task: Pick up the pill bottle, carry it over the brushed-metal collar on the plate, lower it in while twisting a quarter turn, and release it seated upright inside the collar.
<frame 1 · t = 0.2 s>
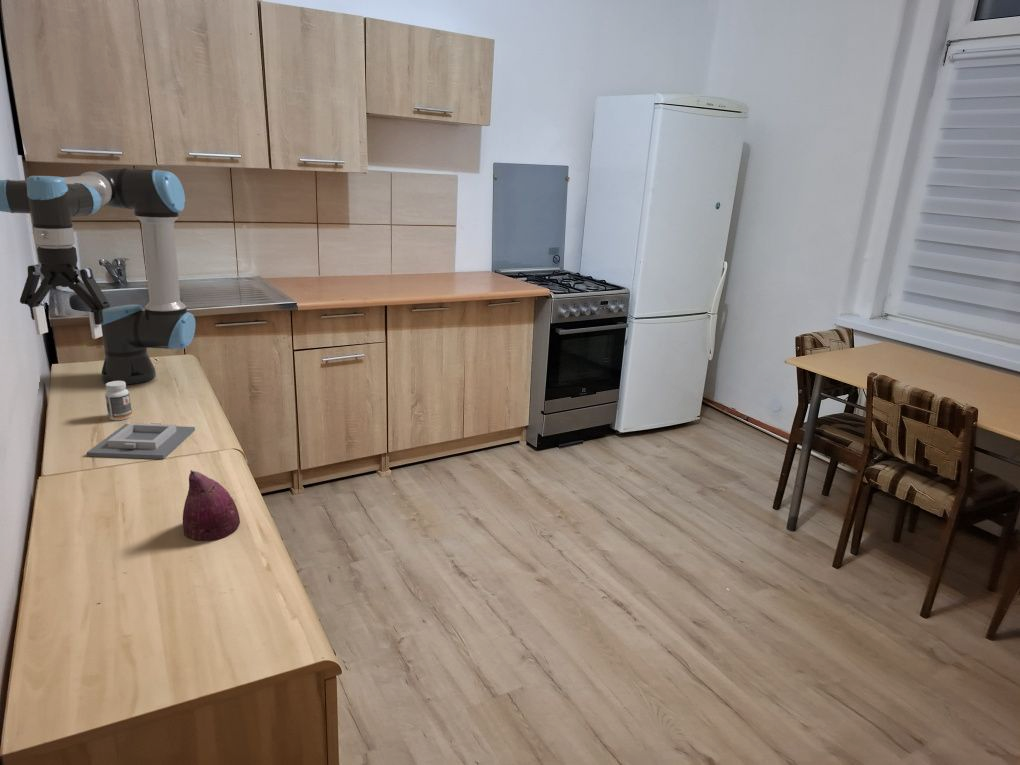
hand: (70, 335, 159), 27 cm above the counter, fingers open, 13 cm apart
pill bottle: (120, 417, 182), on the counter
vegetable: (212, 528, 133), on the counter
socket: (144, 442, 168), on the counter
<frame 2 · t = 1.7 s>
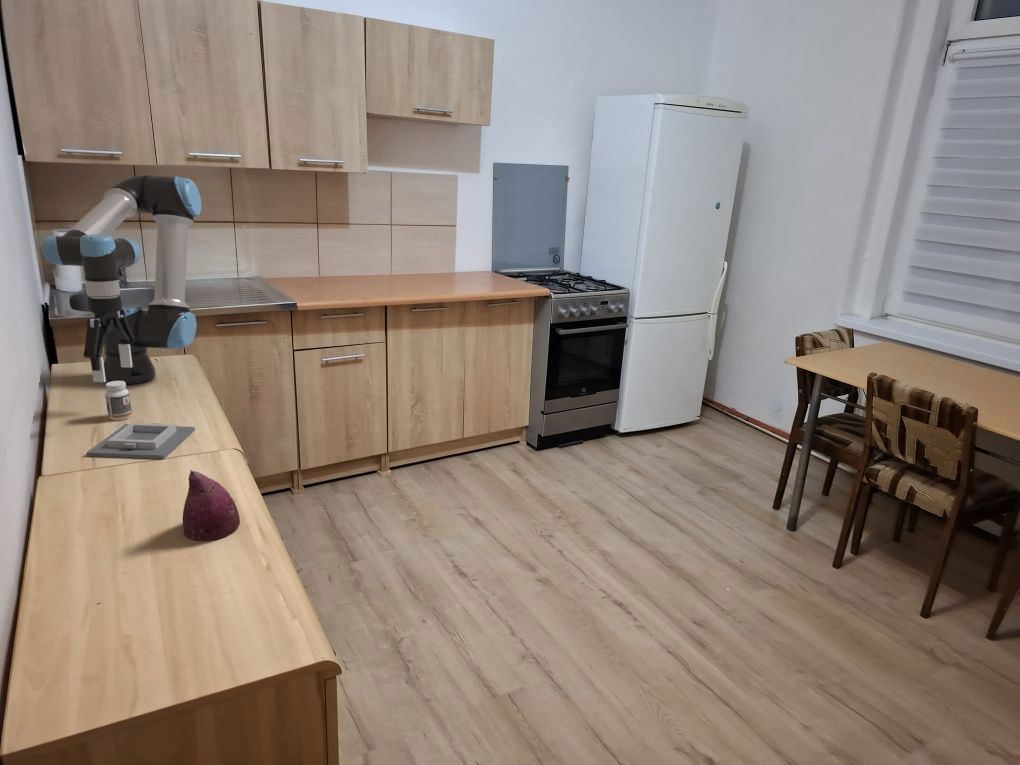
hand: (113, 374, 178), 13 cm above the counter, fingers open, 13 cm apart
nothing on the counter moved.
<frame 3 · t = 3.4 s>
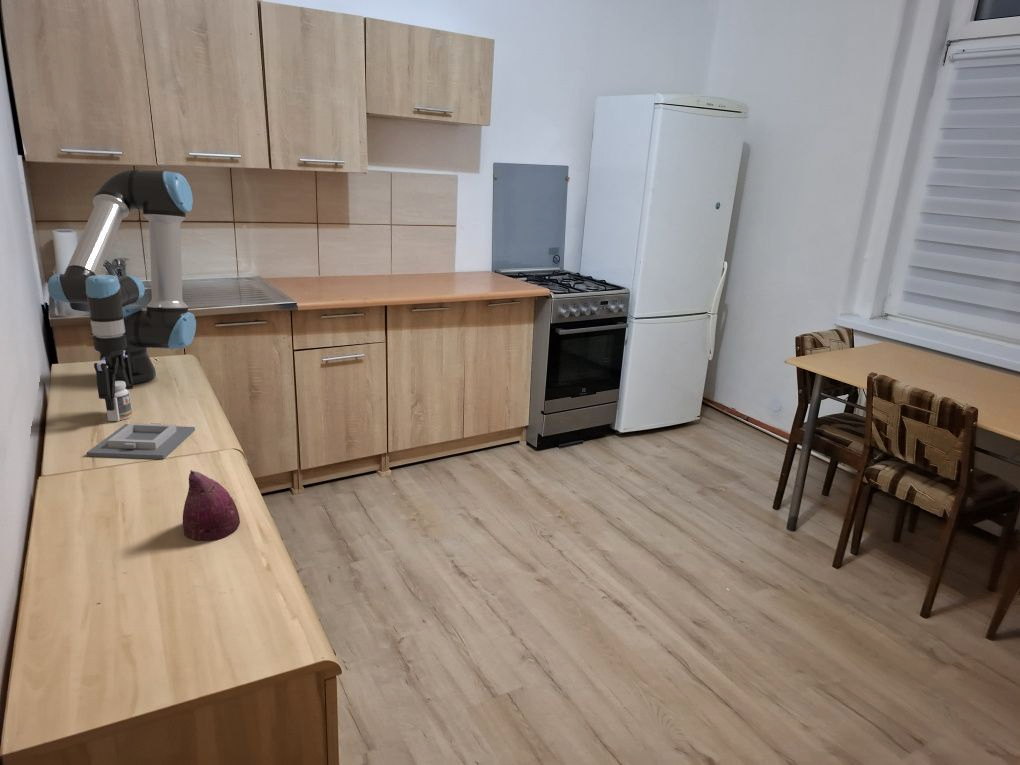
hand: (120, 415, 182), 0 cm above the counter, fingers closed on pill bottle, 6 cm apart
pill bottle: (120, 417, 182), on the counter, touching gripper
everything else where it was.
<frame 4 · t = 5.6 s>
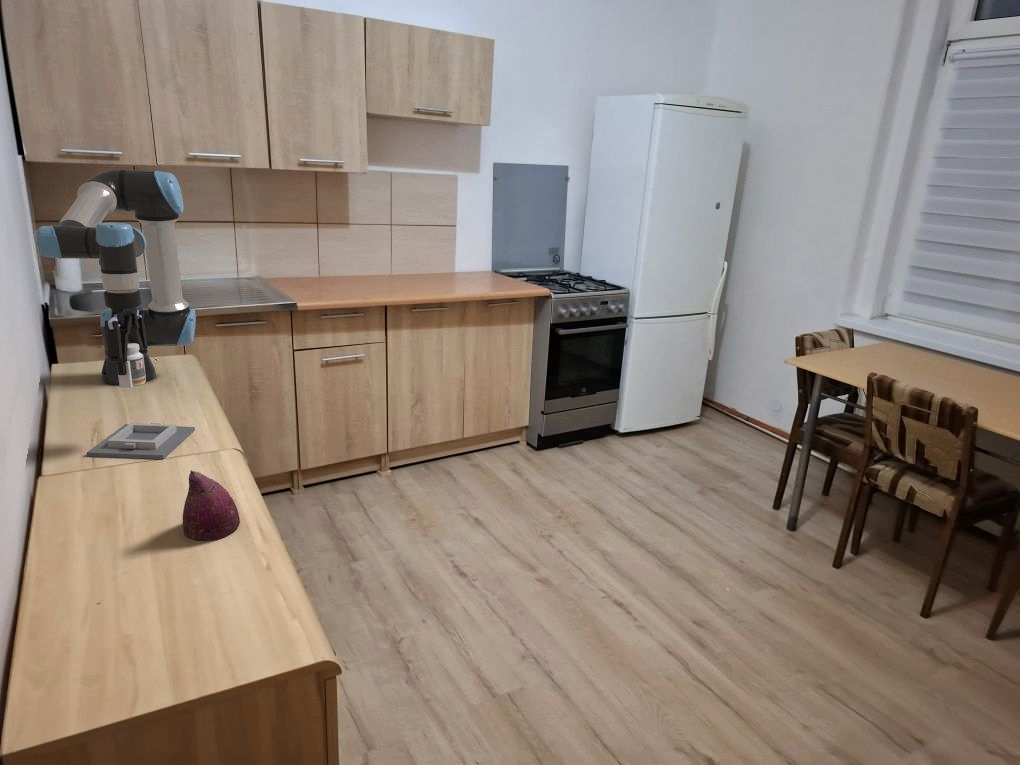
hand: (133, 382, 164), 16 cm above the counter, fingers closed on pill bottle, 6 cm apart
pill bottle: (133, 384, 164), point 15 cm above the counter, touching gripper
everything else where it was.
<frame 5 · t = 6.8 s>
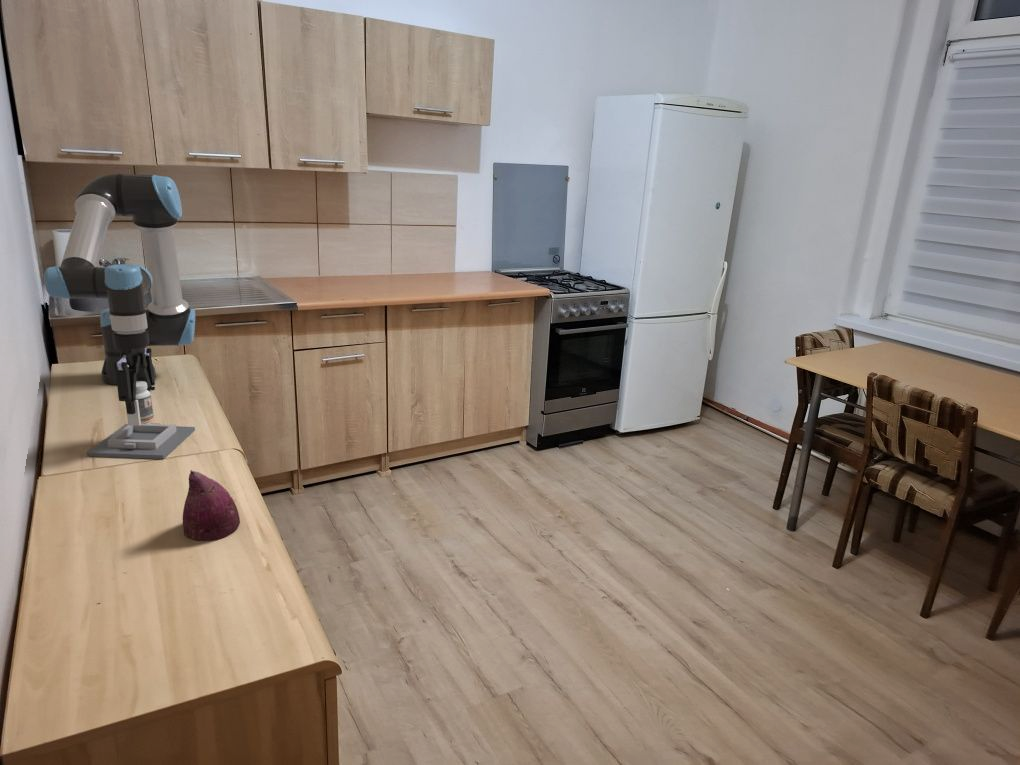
hand: (141, 419, 166), 6 cm above the counter, fingers closed on pill bottle, 6 cm apart
pill bottle: (141, 422, 166), point 6 cm above the counter, touching gripper
everything else where it was.
when the fingers open (3 cm above the counter, at t = 7.9 s): pill bottle drops 2 cm, resting on socket.
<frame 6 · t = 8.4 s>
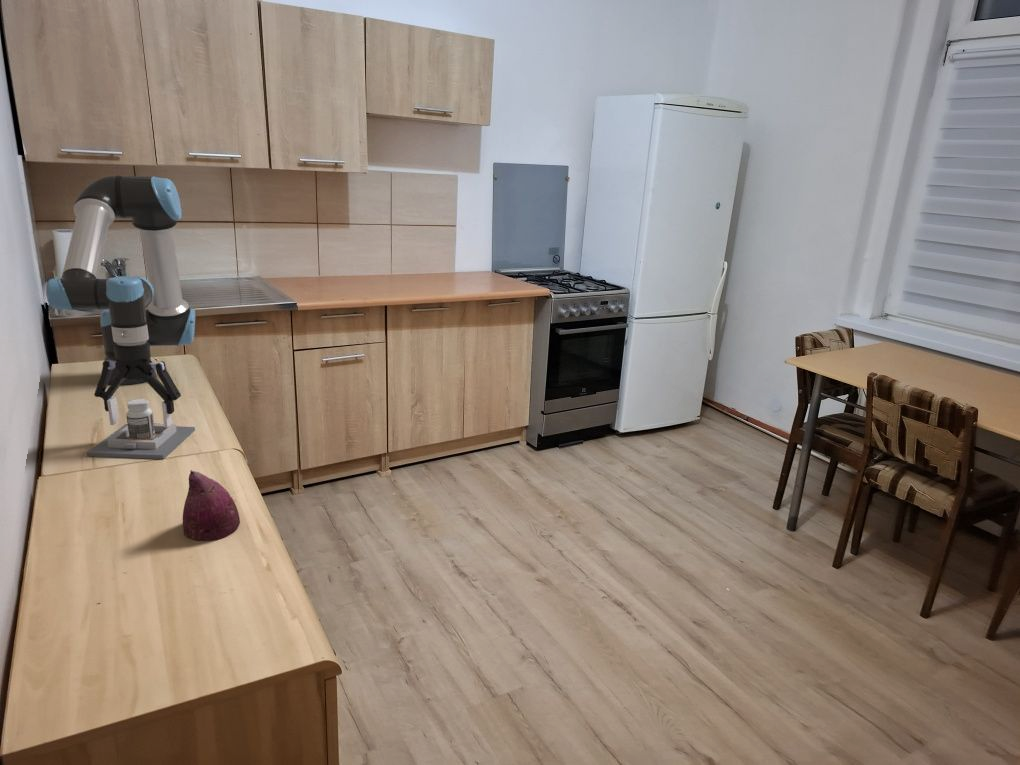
hand: (141, 424, 166), 5 cm above the counter, fingers open, 12 cm apart
pill bottle: (142, 439, 168), point 1 cm above the counter, touching socket
everything else where it was.
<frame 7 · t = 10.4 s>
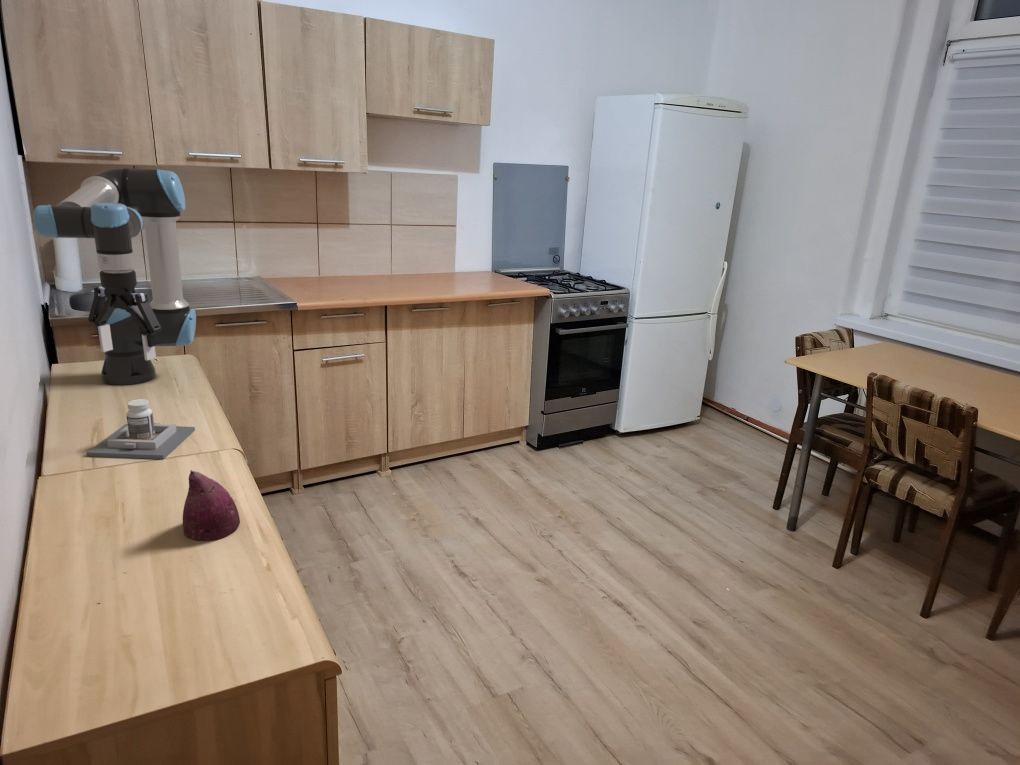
hand: (128, 354, 165), 22 cm above the counter, fingers open, 13 cm apart
nothing on the counter moved.
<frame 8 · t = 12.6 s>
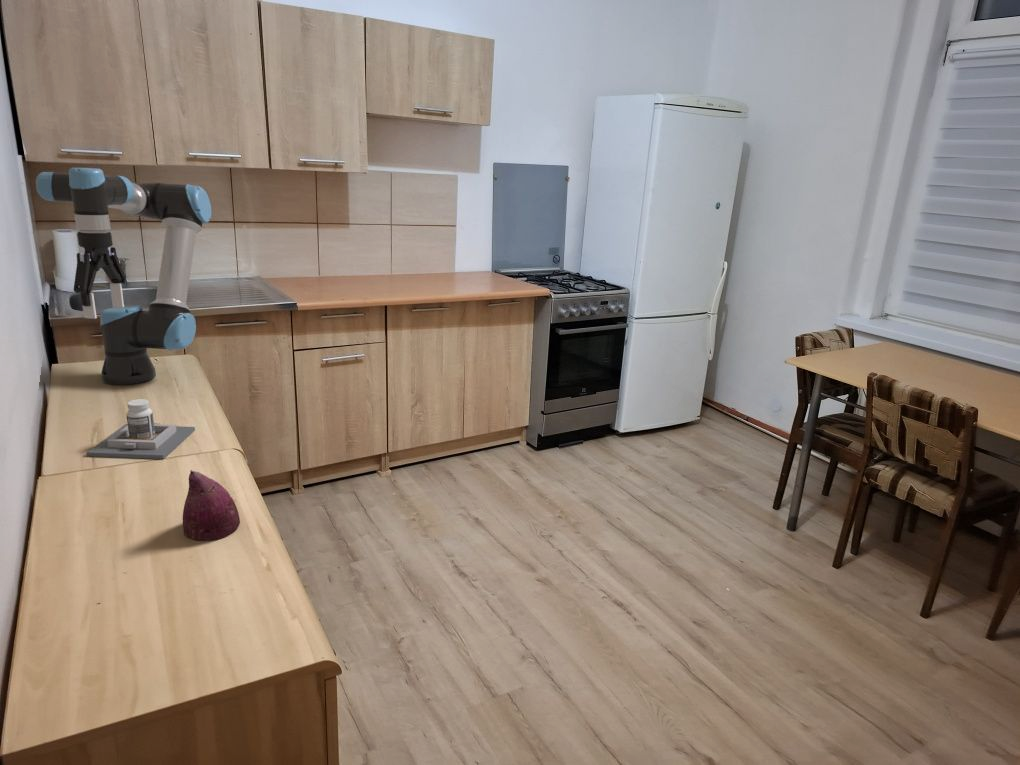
hand: (105, 312, 176), 29 cm above the counter, fingers open, 13 cm apart
nothing on the counter moved.
at the end: pill bottle 0.3 cm from the socket (horizontally); pill bottle tilted 0°; pill bottle touching socket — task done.
